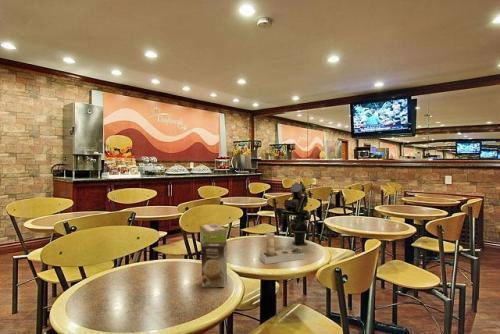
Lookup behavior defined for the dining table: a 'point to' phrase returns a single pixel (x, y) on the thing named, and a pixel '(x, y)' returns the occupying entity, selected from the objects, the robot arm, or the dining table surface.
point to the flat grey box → (283, 256)
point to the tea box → (212, 234)
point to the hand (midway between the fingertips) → (287, 227)
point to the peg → (270, 244)
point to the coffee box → (214, 264)
